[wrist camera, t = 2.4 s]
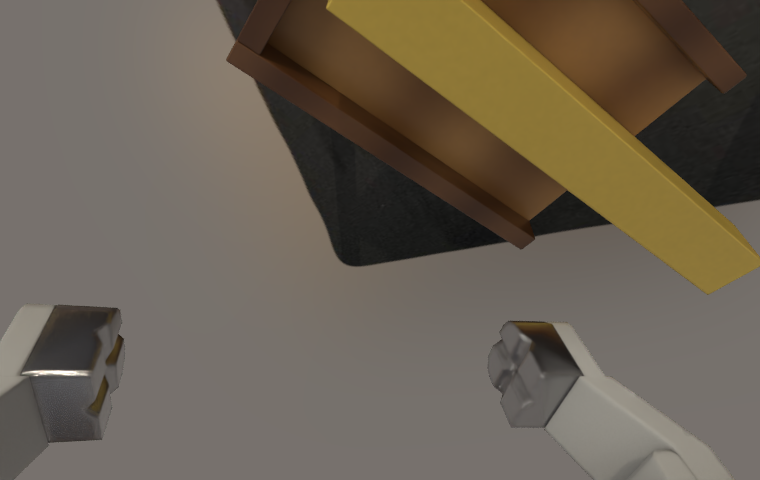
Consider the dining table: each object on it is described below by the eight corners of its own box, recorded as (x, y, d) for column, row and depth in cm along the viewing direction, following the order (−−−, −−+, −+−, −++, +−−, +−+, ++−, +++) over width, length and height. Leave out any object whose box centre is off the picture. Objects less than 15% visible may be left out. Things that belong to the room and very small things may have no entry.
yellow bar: (734, 224, 27) (765, 263, 24) (682, 256, 28) (707, 295, 26) (378, -91, 17) (377, -75, 15) (332, -16, 19) (324, 9, 17)
